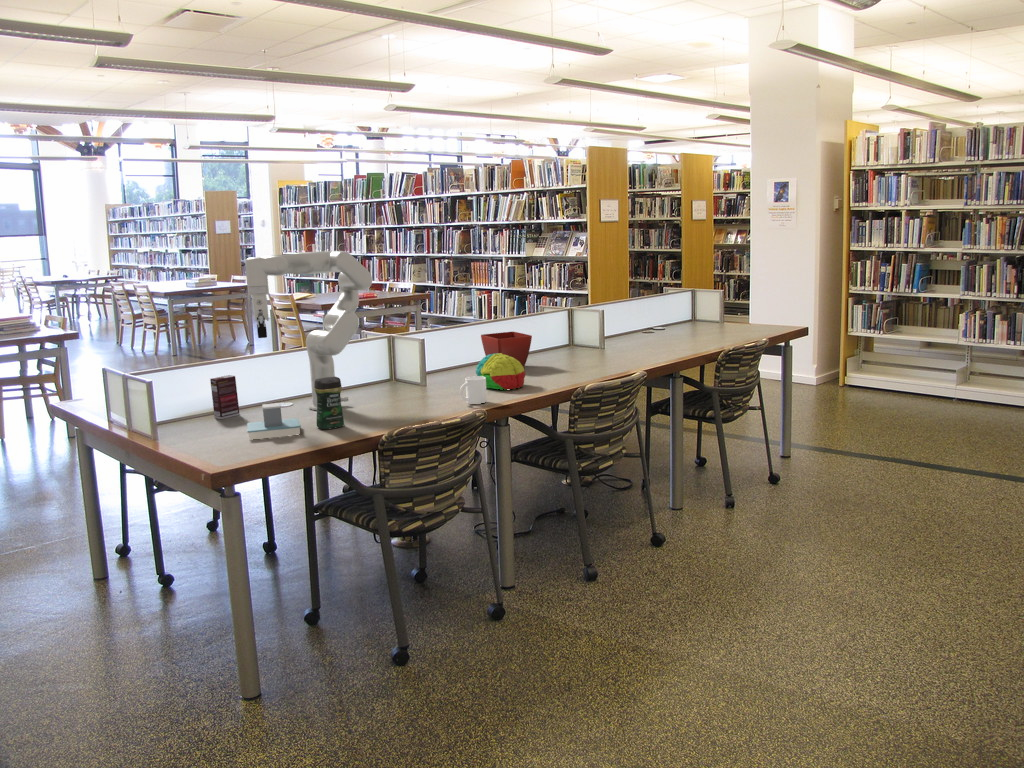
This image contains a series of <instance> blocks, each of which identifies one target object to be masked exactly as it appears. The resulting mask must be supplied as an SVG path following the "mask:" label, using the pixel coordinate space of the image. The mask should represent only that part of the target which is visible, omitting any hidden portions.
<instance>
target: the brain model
mask: <svg viewBox="0 0 1024 768" xmlns="http://www.w3.org/2000/svg"><path fill="white" fill-rule="evenodd" d="M524 368H525V367H524ZM524 368H523V366H522V365H521V363H520V362H519V361H518V360H516V359H514V358H513V357H509V356H508V355H503V354H502V353H496V354H490V355H487V356H486V355H485V356H484V357H483V358H482V359H481V360H480V361H479V362H478V364H477V366H476V370H475V374H476V376H483V377H486V389H492V390H498V389H500V390H499V391H508V390H507V389H515V390H517V389H516V388H518V389H521V388H522V387H523V386H524V384H525V378H526V371H525V369H524ZM520 387H521V388H520ZM503 389H504V390H503Z"/></svg>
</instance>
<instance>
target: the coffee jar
mask: <svg viewBox="0 0 1024 768" xmlns="http://www.w3.org/2000/svg"><path fill="white" fill-rule="evenodd" d="M342 387H343V386H342V381H341V378H339V377H337V376H335V377H326V378H319V379H315V385H314V390H315V392H316V395H317V410H316V428H318V429H319V428H320V429H319V430H322V429H323V430H330V429H329V428H333V429H336V428H335V427H339V428H341V427H340V426H342V427H343V426H344V425H345V420H344V414H343V413H344V412H343V408H342V402H341V399H340V397H341V392H342V389H343V388H342Z"/></svg>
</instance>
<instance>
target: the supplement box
mask: <svg viewBox="0 0 1024 768" xmlns="http://www.w3.org/2000/svg"><path fill="white" fill-rule="evenodd" d="M209 381H210V382H209V383H210V389H211V397H212V405H213V406H212V407H213V415H214V416H213V417H214V419H217V420H224V419H229V418H233V417H237V416H240V407H239V398H238V387H237V380H236V375H232V374H231V375H230V374H229V375H223V376H219V377H218V376H217V377H212V378H209Z"/></svg>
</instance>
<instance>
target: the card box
mask: <svg viewBox="0 0 1024 768" xmlns="http://www.w3.org/2000/svg"><path fill="white" fill-rule="evenodd" d="M261 405H262V406H261V407H262V412H263V413H262V414H263V421H264V425H265V427H272V426H282V420H283V418H282V417H283V416H282V409H281V408H282V405H281V403H280V402H275V403H264V404H261Z"/></svg>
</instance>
